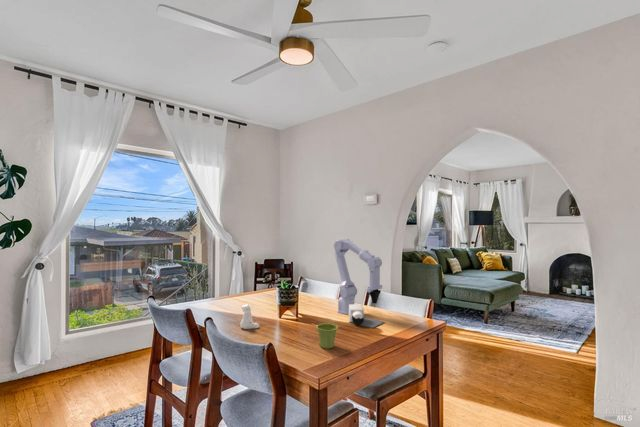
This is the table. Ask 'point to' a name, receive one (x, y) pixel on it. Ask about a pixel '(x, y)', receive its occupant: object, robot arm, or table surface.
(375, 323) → the mat
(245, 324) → the white creature statuette
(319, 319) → the table surface
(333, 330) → the plant pot
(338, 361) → the table surface
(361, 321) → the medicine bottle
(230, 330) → the table surface
